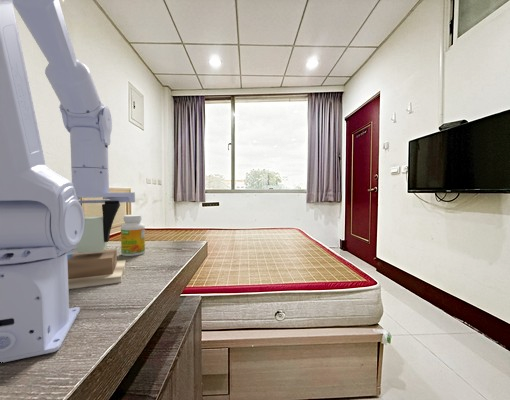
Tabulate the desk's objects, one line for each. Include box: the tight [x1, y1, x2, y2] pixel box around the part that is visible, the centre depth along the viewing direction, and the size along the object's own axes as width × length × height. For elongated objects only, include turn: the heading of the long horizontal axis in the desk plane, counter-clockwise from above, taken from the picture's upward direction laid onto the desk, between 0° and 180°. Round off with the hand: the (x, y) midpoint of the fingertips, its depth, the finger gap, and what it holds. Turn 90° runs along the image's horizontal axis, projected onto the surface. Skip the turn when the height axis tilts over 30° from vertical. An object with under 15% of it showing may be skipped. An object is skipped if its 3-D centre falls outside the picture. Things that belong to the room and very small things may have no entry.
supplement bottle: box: [120, 214, 146, 257], centre depth 63 cm, size 5×5×10 cm
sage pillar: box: [77, 215, 108, 253], centre depth 47 cm, size 4×4×6 cm
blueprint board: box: [67, 248, 127, 290], centre depth 47 cm, size 11×10×4 cm
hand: (92, 242), depth 47 cm, fingers closed on sage pillar, 4 cm apart
